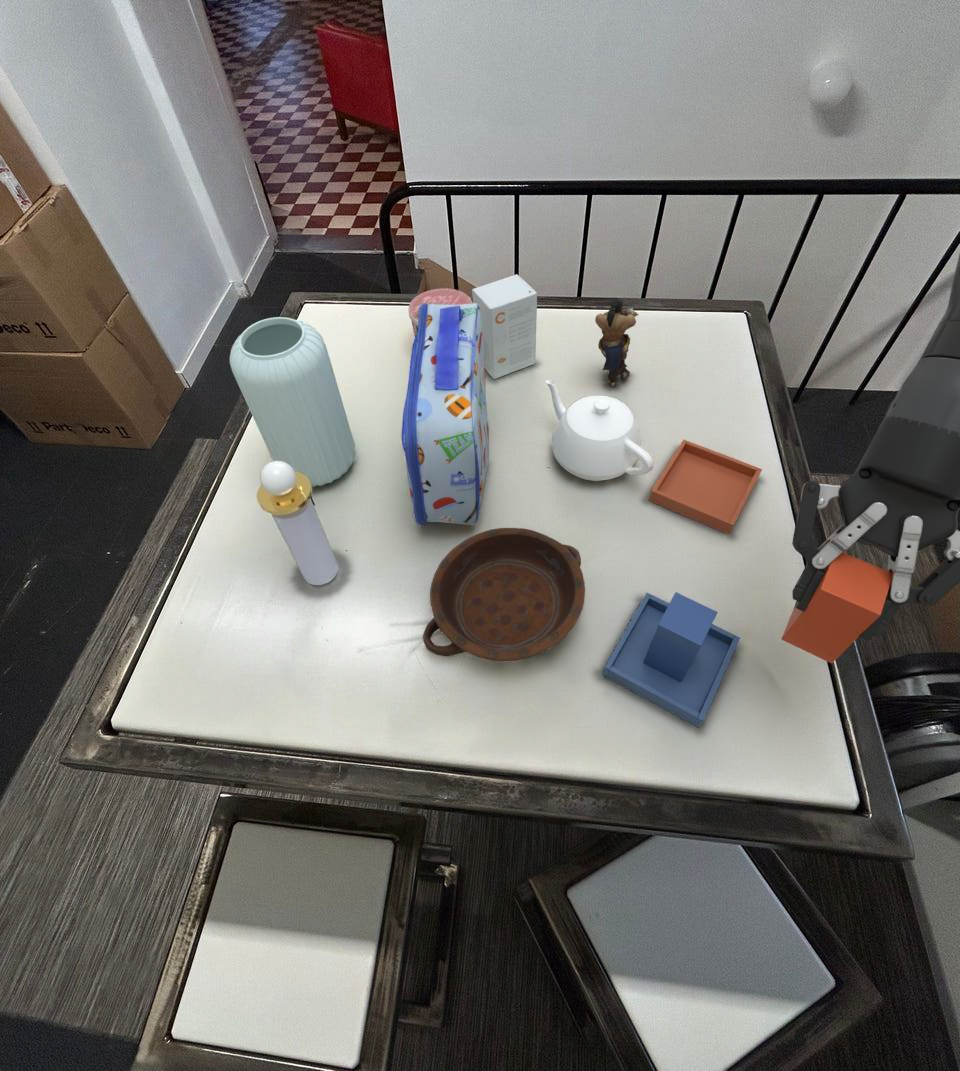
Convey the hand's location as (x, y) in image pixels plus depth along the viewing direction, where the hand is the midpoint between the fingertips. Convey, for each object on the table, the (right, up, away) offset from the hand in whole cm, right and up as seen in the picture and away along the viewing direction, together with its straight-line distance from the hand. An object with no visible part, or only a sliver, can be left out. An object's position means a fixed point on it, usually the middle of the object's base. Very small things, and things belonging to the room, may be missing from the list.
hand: (831, 621), depth 51 cm
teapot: (-13, +19, +37) cm, 44 cm away
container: (-35, +39, +54) cm, 76 cm away
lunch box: (-33, +17, +37) cm, 53 cm away
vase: (-53, +17, +39) cm, 68 cm away
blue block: (-8, -6, +18) cm, 20 cm away
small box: (-25, +36, +51) cm, 67 cm away
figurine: (-9, +32, +47) cm, 57 cm away
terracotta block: (+1, -2, +5) cm, 5 cm away
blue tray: (-8, -7, +18) cm, 21 cm away
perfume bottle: (-50, +2, +27) cm, 57 cm away
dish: (-26, -2, +23) cm, 35 cm away
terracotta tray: (+1, +14, +33) cm, 35 cm away
